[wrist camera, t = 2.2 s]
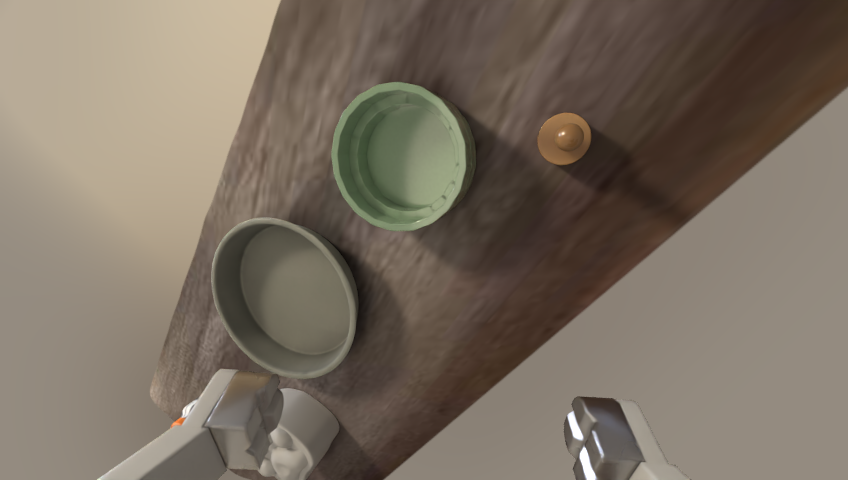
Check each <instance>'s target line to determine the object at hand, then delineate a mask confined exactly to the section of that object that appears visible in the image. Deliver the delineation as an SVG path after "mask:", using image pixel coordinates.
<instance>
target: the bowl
mask: <svg viewBox="0 0 848 480" xmlns="http://www.w3.org/2000/svg"><path fill="white" fill-rule="evenodd" d="M332 163H333V170H334V177H335V179H336V182H337V184H338V186H339V189H340V191H341V194H342V196H343V197H344V199H345V200H346V201H347V202H348V204H349V205H350V206H351V207H352V209H353V210H354V211H355V212H356V213H357V214H358V215H359V216H361V217H362V218H364V219H365V220H366V221H368V222H369V223H371V224H372V225H375V226H378V227H381V228H384V229H387V230H390V231H413V230H416V229H419V228H422V227H425V226H427V225H430V224H432V223H434V222H435V221H437V220H438V219H440V218H441V217H443V216H444V215H446V214H447V213H448V212H449V211H451V210H452V209H453V208H454V207H456V206H457V205H458V204H459V203H460V202H461V200H462V199H463V197H464V196H465V194H466V192H467V191H468V189H469V188H470V186H471V183H472V179H473V175H474V172H475V168H476V148H475V141H474V138H473V135H472V132H471V130H470V127H469V124H468V122H467V120H466V119H465V118H464V116H463V115H462V114H461V113H460V111H459V110H458V109H457V108H456V106H455V105H454V104H453V103H451V102H450V101H448V100H446V99H445V98H443V97H442V96H440V95H439V94H437V93H435V92H433V91H430V90H428V89H426V88H423V87H421V86H417V85H412V84H408V83H403V82H393V83H386V84H380V85H376V86H374V87H373V88H371V89H369V90H367V91H365V92H364V93H362V94H360V95H358V96H357V97H356V98H355V99H354V101H353V102H352V103H351V104H350V105H349V106H348V107H347V108H346V110H345V111H344V112H343V114H342V116H341V118H340V121H339V123H338V125H337V127H336V130H335V133H334V139H333V147H332Z"/></svg>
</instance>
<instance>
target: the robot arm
mask: <svg viewBox="0 0 848 480" xmlns="http://www.w3.org/2000/svg"><path fill="white" fill-rule="evenodd" d="M279 383H280V380H279V377H278V374H272V373H262V372H251V371H241V370H230V369H220V370H219V371H218V372H217V373H215V374H214V376H213V377H212V379H211V380H210V382H209V384H208V385H207V387H206V388H205V390H204V391H203V393H202V394H201V396H200V397H199V399H198V400H197V402H196V403H195V405H194V407H193V408H192V410H191V411H190V413H189V414H188V416H187V417H186V419H185V420H184V422H183V423H182V425H175V426H174V427H172V428H171V429H169V430H168V431H166V432H165V433H164V434H162V435H161V436H159V437H158V438H157V439H155V440H154V441H152V442H151V443H149V444H148V445H146V446H145V447H143V448H142V449H141V450H139V451H138V452H136V453H135V454H133V455H132V456H131V457H129V458H128V459H126V460H125V461H123V462H122V463H120V464H119V465H118V466H116V467H115V468H113V469H112V470H110V471H109V472H108V473H107V474H105V475H103V476H102V477H100V478H99V479H98V480H218V479H219V478H220V477H221V476H222V475H223V474H224V472H226V471H227V469H226V468H232V469H252V470H260V467H261V465H262V463H263V460H264V458H265V455H266V453H267V451H268V448H269V446H270V442H269V438H268V435H269V434H270V433H271V432H272V431H274V430H275V429H276V428H277V426H278V424H279V421H280V419H281V415H282V411H283V406H284V397H283V393H282V391H280V390H279V389H278V388H277V387H278V385H279ZM572 407H573V410H574V411H572V412H570V413H569V414H567V417H566V419H565V422H564V435H565V442H566V445H567V449H568V451H569V452H570V454H571V455H572V456H573V457H574V458H575V459H576V462H575V464H574V467H573V470H574V474H575V477H576V480H691V479H690V478H689V477H688V476H687V475H686V474H684V473H683V472H682V471H681V470H680V469H679V468H678V467H677V466H676V465H671V464H669V463H668V461H667V459H666V458H665V456H664V454H663V452H662V450H661V448H660V446H659V444H658V442H657V440H656V438H655V436H654V434H653V432H652V430H651V428H650V426H649V424H648V422H647V420H646V418H645V416H644V414H643V412H642V410H641V408H640V407H639V405H638V404H637V403H636V402H635V401H632V400H617V399H612V398H596V397H576V398H574V400H573V402H572Z"/></svg>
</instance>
